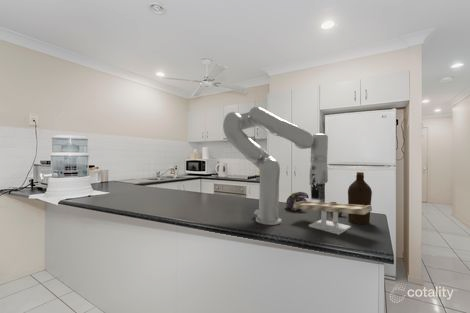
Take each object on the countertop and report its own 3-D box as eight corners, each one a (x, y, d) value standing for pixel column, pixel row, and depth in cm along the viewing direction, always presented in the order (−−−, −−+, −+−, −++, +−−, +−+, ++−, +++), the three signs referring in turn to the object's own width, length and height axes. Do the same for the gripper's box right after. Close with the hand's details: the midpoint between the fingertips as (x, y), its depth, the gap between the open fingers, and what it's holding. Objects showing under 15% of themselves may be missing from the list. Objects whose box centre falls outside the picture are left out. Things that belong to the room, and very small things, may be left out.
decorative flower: (279, 191, 144) (302, 185, 144) (283, 207, 147) (305, 201, 147) (285, 202, 130) (311, 195, 130) (289, 220, 134) (314, 213, 133)
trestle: (308, 226, 107) (308, 208, 107) (321, 220, 116) (322, 204, 116) (338, 234, 97) (339, 214, 97) (350, 227, 106) (351, 209, 106)
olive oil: (375, 225, 111) (377, 173, 111) (355, 225, 110) (356, 173, 110) (361, 218, 122) (363, 171, 121) (342, 218, 121) (344, 171, 120)
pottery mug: (326, 217, 124) (321, 203, 128) (325, 221, 132) (321, 207, 136) (349, 213, 121) (344, 198, 125) (347, 217, 129) (342, 203, 133)
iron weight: (311, 199, 110) (310, 186, 111) (315, 198, 114) (315, 186, 114) (320, 199, 107) (319, 187, 108) (324, 198, 110) (323, 186, 111)
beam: (293, 210, 114) (293, 203, 114) (304, 206, 122) (304, 200, 122) (363, 217, 91) (363, 208, 91) (372, 212, 98) (371, 204, 99)
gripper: (317, 160, 102) (316, 201, 102) (334, 159, 113) (332, 196, 114) (302, 159, 107) (301, 198, 108) (319, 159, 119) (318, 194, 119)
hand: (317, 197), depth 111 cm, fingers closed on iron weight, 4 cm apart
